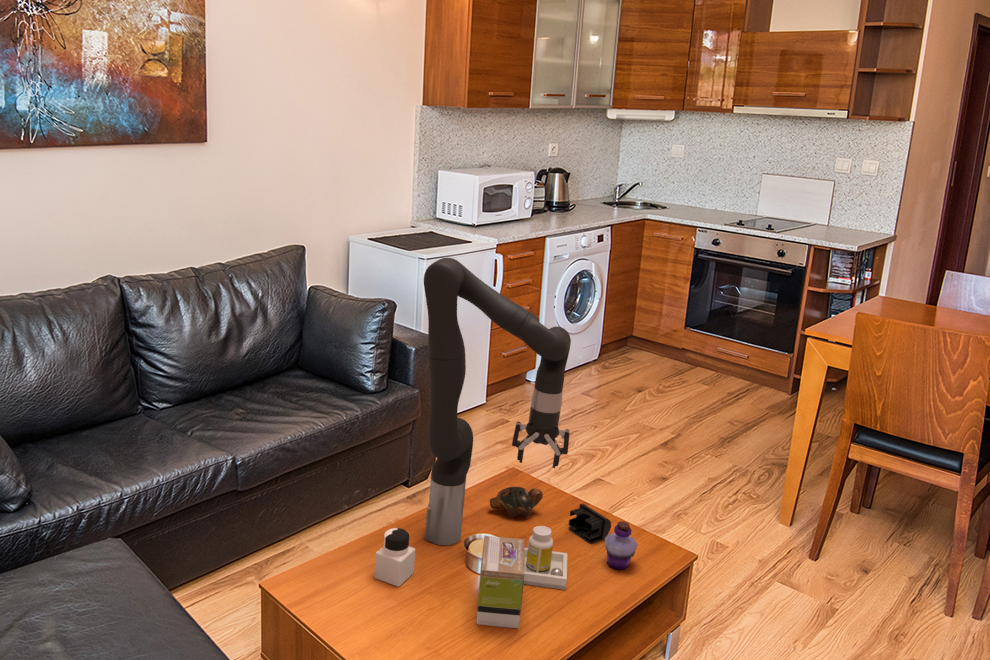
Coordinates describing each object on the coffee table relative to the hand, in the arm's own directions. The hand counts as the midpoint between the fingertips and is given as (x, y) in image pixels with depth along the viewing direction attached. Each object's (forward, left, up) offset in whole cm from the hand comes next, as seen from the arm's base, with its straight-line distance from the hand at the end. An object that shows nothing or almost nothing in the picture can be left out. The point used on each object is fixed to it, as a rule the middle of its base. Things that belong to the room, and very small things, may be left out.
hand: (537, 464), depth 214 cm
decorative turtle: (-5, +20, -26) cm, 33 cm away
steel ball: (+8, -13, -24) cm, 29 cm away
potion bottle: (+24, -1, -26) cm, 35 cm away
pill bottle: (+3, -9, -25) cm, 26 cm away
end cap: (+16, +14, -26) cm, 33 cm away
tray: (+3, -9, -25) cm, 27 cm away
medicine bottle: (-32, -19, -26) cm, 45 cm away
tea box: (-5, -26, -26) cm, 37 cm away
